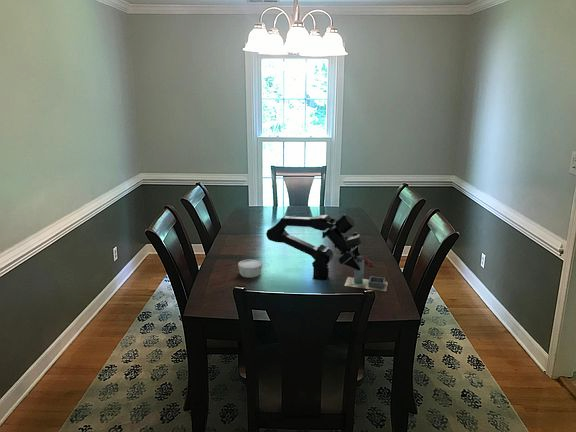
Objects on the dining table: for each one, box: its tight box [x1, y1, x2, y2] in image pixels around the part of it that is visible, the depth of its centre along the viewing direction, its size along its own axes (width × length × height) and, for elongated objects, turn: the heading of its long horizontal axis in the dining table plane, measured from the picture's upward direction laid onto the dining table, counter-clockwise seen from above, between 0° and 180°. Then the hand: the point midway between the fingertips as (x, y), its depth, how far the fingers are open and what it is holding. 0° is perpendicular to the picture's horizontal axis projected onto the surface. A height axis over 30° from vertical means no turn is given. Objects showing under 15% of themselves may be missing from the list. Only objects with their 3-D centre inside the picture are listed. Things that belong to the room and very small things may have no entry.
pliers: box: [354, 257, 373, 267], centre depth 233 cm, size 12×20×3 cm, turn 15°
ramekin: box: [237, 259, 263, 279], centre depth 212 cm, size 11×11×5 cm
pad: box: [351, 279, 365, 286], centre depth 204 cm, size 6×6×1 cm
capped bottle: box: [353, 255, 365, 284], centre depth 202 cm, size 4×4×12 cm
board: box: [344, 276, 389, 292], centre depth 203 cm, size 18×10×1 cm, turn 74°
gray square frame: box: [368, 275, 386, 289], centre depth 201 cm, size 7×7×2 cm
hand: (361, 266), depth 201 cm, fingers open, 9 cm apart
